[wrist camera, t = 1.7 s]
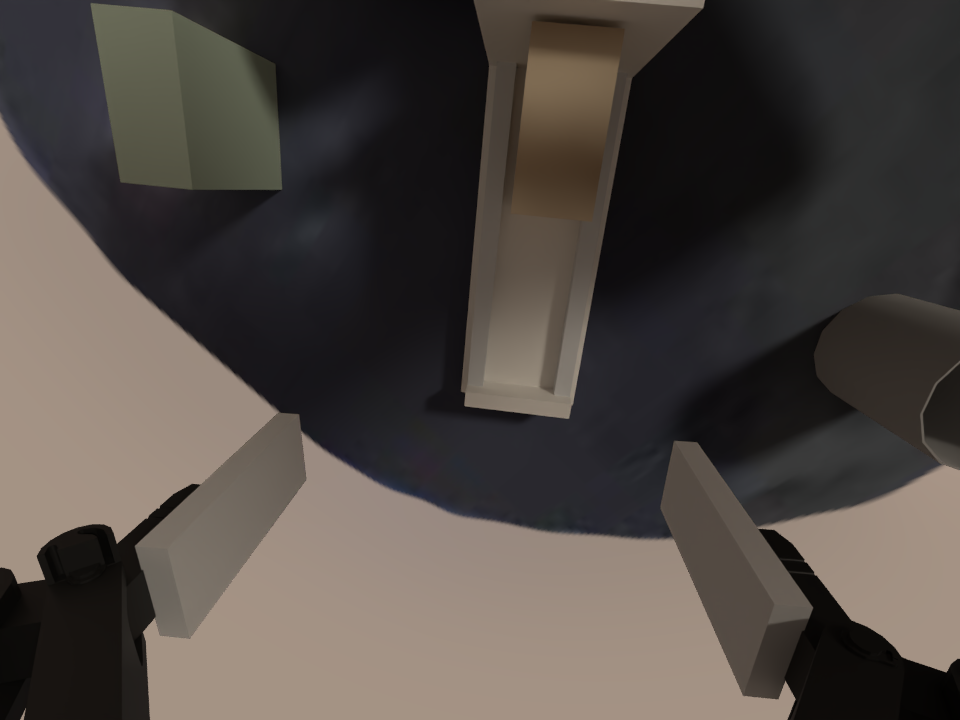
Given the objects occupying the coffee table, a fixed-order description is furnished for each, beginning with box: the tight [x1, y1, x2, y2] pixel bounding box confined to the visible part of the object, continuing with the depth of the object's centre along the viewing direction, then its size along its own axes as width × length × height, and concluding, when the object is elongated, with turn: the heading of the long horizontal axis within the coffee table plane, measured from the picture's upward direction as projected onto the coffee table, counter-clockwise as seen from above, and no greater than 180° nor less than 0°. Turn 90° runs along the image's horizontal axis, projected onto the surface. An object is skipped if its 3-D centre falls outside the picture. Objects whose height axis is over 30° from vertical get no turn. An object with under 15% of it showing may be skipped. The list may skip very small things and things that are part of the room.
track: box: [461, 0, 705, 419], centre depth 28 cm, size 24×9×13 cm, turn 175°
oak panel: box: [511, 21, 625, 222], centre depth 26 cm, size 8×4×10 cm, turn 175°
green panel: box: [91, 3, 282, 190], centre depth 28 cm, size 8×4×10 cm, turn 175°
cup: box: [814, 294, 960, 470], centre depth 30 cm, size 8×8×10 cm
